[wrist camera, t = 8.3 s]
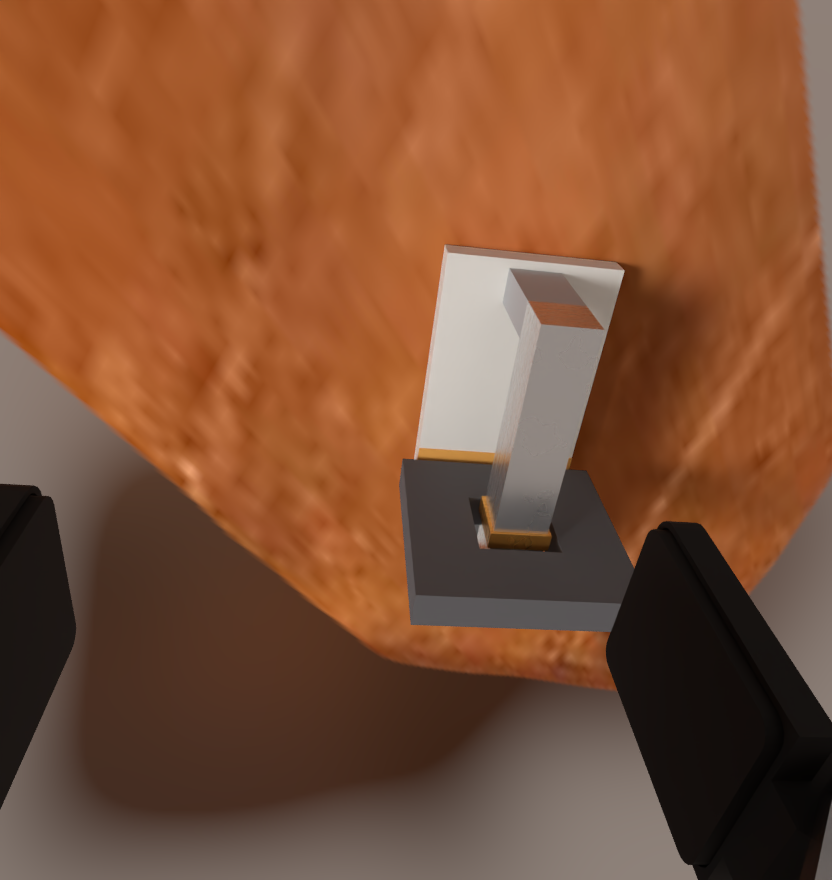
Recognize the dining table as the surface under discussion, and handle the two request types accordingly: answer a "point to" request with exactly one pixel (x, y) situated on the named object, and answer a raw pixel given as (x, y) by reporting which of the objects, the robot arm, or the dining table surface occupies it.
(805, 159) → the dining table surface
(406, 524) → the collar
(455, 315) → the stand
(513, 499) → the grey square bar
